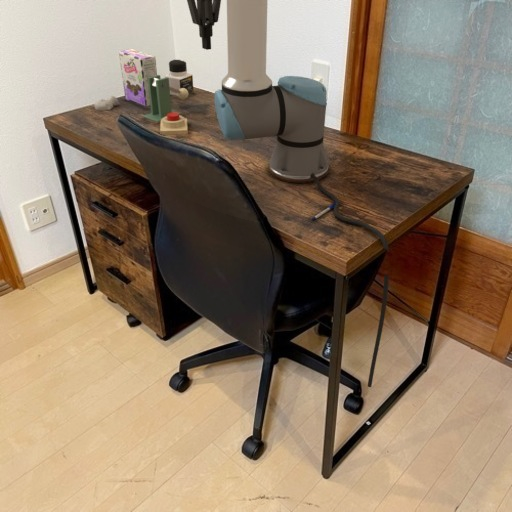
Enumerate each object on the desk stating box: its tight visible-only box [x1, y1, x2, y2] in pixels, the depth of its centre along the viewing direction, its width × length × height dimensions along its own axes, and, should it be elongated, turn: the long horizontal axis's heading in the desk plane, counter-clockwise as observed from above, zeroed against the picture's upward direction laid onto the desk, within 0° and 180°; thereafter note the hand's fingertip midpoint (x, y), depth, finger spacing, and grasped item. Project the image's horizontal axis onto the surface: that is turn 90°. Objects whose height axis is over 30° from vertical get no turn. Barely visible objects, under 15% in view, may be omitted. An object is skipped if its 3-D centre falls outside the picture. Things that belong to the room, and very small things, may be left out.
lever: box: [152, 78, 190, 101], centre depth 168 cm, size 14×4×4 cm, turn 138°
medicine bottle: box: [164, 58, 194, 97], centre depth 187 cm, size 7×7×12 cm
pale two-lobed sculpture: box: [93, 95, 119, 112], centre depth 175 cm, size 4×8×5 cm
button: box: [167, 112, 180, 121], centre depth 158 cm, size 4×4×2 cm
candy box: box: [118, 48, 158, 107], centre depth 178 cm, size 14×6×16 cm, turn 42°
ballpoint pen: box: [311, 201, 341, 221], centre depth 119 cm, size 10×1×1 cm, turn 141°
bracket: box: [141, 74, 182, 123], centre depth 166 cm, size 10×8×13 cm
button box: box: [159, 115, 189, 136], centre depth 159 cm, size 10×8×4 cm
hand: (206, 48), depth 160 cm, fingers closed
